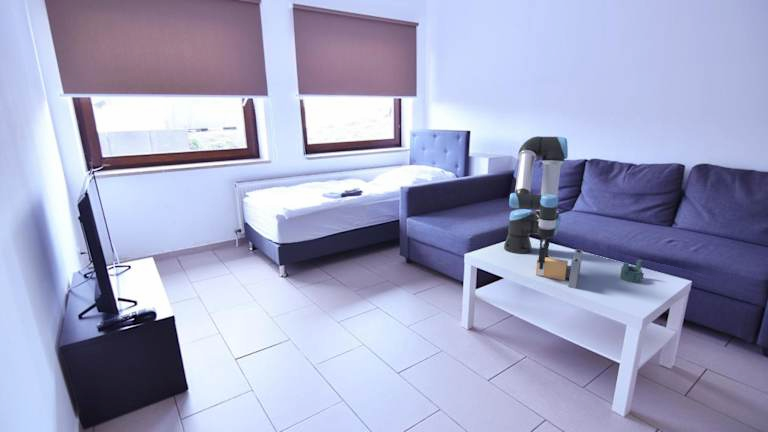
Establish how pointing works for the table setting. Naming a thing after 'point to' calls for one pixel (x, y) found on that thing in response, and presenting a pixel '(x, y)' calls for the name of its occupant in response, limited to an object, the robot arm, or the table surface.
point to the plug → (555, 268)
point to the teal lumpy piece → (632, 272)
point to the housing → (575, 268)
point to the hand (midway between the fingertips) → (541, 272)
